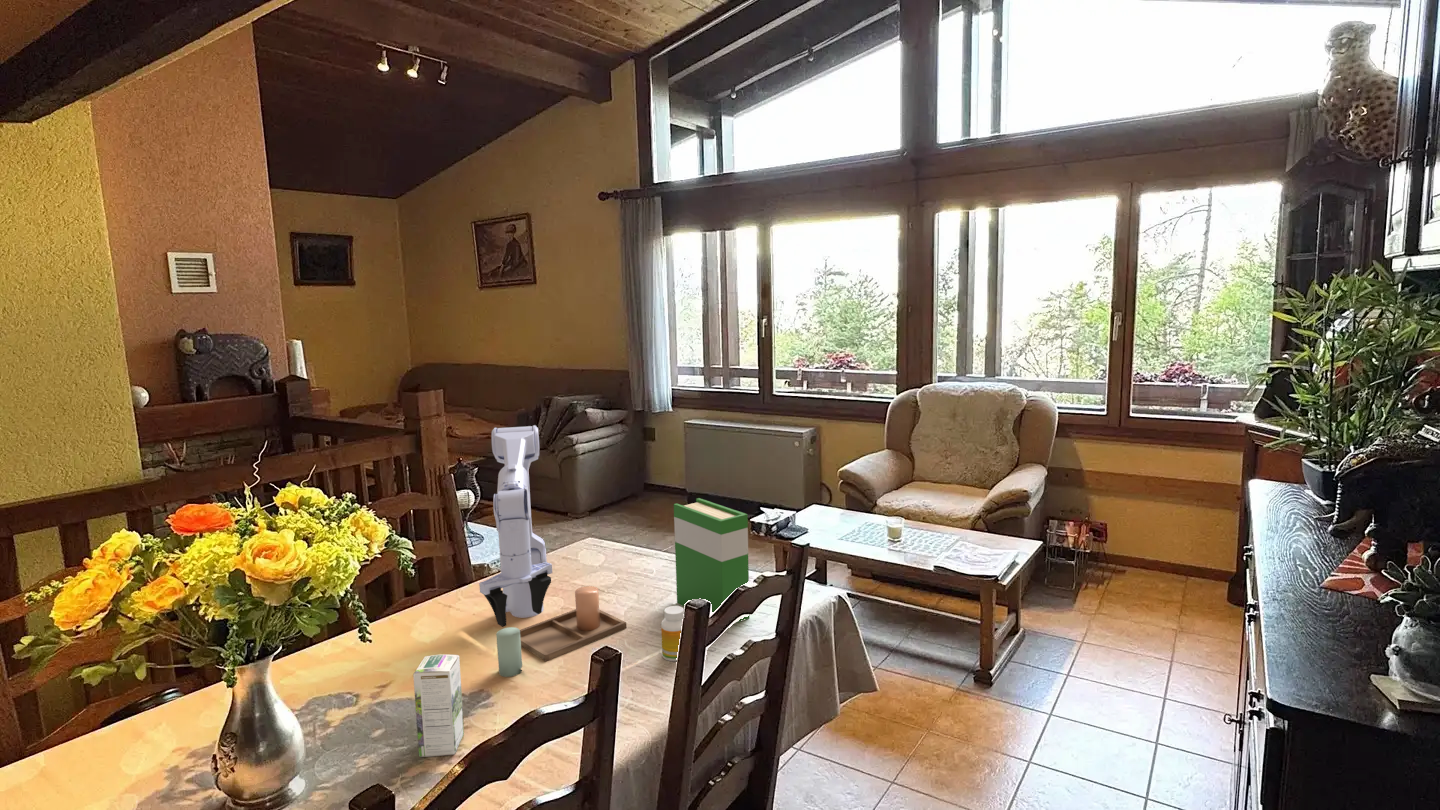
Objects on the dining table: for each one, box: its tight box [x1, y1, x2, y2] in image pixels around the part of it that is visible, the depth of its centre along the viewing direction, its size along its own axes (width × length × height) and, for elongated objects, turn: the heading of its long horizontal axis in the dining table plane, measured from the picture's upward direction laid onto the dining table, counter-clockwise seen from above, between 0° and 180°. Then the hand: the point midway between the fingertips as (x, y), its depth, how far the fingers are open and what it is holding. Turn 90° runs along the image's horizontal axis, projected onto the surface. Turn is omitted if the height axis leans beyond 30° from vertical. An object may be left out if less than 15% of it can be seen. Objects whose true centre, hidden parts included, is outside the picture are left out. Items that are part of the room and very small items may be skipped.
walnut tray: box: [519, 608, 627, 662], centre depth 158 cm, size 14×20×2 cm
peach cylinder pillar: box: [574, 585, 600, 631], centre depth 161 cm, size 5×5×8 cm
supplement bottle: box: [660, 605, 685, 662], centre depth 148 cm, size 5×5×10 cm
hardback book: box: [673, 497, 750, 622], centre depth 168 cm, size 18×7×24 cm, turn 38°
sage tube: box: [495, 627, 523, 678], centre depth 143 cm, size 4×4×8 cm
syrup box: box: [412, 654, 465, 758], centre depth 119 cm, size 6×6×14 cm
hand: (519, 618), depth 143 cm, fingers open, 7 cm apart
